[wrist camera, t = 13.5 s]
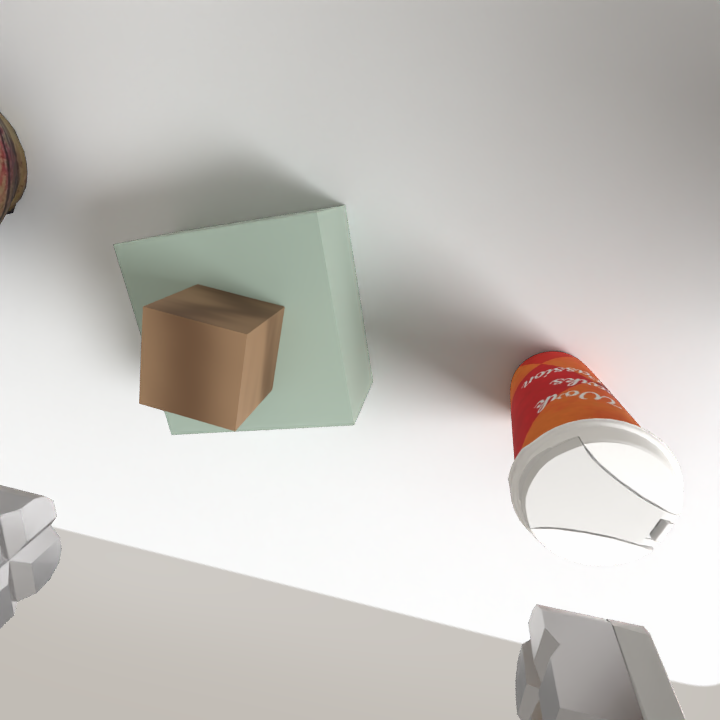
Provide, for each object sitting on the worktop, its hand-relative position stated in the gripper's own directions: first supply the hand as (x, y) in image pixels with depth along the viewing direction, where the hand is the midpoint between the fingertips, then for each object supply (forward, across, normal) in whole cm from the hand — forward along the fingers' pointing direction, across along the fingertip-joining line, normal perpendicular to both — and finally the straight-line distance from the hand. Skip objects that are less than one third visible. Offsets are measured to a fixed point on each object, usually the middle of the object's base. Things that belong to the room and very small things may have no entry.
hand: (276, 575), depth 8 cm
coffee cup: (+31, -11, +8) cm, 34 cm away
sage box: (+32, +11, +5) cm, 34 cm away
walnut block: (+23, +11, +5) cm, 26 cm away
